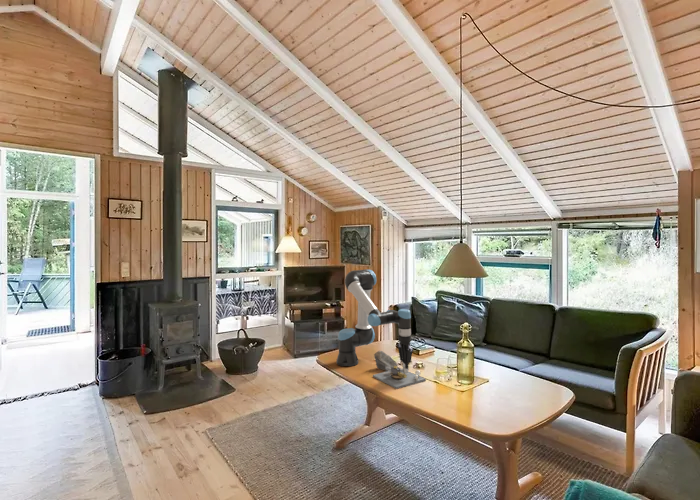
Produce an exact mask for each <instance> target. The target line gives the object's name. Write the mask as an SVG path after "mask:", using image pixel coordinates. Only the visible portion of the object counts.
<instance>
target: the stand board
mask: <svg viewBox="0 0 700 500" xmlns="http://www.w3.org/2000/svg"><path fill="white" fill-rule="evenodd" d="M399 368H400V369H403V367H402V368H401V367H399ZM386 372H390V371H383V372H379V373H375V374H372V378H374V379H376V380H378V381H380V382H383V383H384V384H386V385H388V386H389V387H392V388H394V389H395V390H398V389H402V388H404V387H409V386H413V385H417V384H420V383H423V382H426V381H427V379H426V378H424V377H422V376H420V375H421V371H420V370H419V369H417V370H415V373H413V372H411V371H408V373H407V374H406V375H407V378H402V379H393V378H392V377H391V375H389V376H386V377H383V376H382V373H386ZM401 373H403V372H401ZM403 374H404V373H403Z"/></svg>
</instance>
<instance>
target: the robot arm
mask: <svg viewBox="0 0 700 500" xmlns="http://www.w3.org/2000/svg"><path fill="white" fill-rule="evenodd" d="M376 284H377V276H376V273H375V272H374V271H373V269H357V270H355V269H354V270H351V271H348V273H346V275H345V278H344V285H345V288H346V290H347V291H348V292H349V293H351V294H352V295H353V297H354V298H355V300H356V301H357V323H356V325H355V328H352V327H349V328H343V329H341V330H340V331H339V332H338V336H337V340H338V354H337V358H336V365H337V364H338V365H337V366H339V365H340V366H339V367H343V366H350V367H355V366H357V365H358V364H359V358H358V355H357V353H356V348H357V347H362V346H369V345H371V344H372V343H373V342H374V340H375V338H376V337H375V336H376V334H375V330H374V328H373V327H378V326H383V325H384V326H385V325H389V324H390V325H391V324H397V325H398V326H397V327H398V328H397V329H398V342H399V343H398V344H397V348H398V349H397V350H398V355H399V360H400V361H401V363H402V369H403V373H404V374H407V373H408V368H409V364H410V363H411V362H412V356H413V351H414V348H413V347H411V341H412V336H411V335H412V326H411V324H412V322H411V320H412V315H411V309H410V310H409V309H407V308H401V309H398V311H397V310H394V309H387V310H386V311H383V312H382V311H380V310H379V309H378V307H377V306H376V305H375V303H374V302H373V300H372V299H371V293H372V290H373V288H374V286H376Z"/></svg>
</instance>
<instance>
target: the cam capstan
mask: <svg viewBox="0 0 700 500" xmlns="http://www.w3.org/2000/svg"><path fill="white" fill-rule="evenodd" d="M400 368H401V367H399V366H398V365H397V366H394V367H392V368H390V367H388V366H387V367H385V369H386V370H388V371H390V372H387V371H385V372H386V373H383V372H381V373H382V376H383V377H386V376H389V375H391V377H392V378H393V379H402V378H407V375H406V374H403V373H401V372H403V368H402V369H400ZM409 370H410V369H409V367H408V371H409ZM409 372H410V371H409Z"/></svg>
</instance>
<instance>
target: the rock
mask: <svg viewBox="0 0 700 500" xmlns="http://www.w3.org/2000/svg"><path fill="white" fill-rule="evenodd" d="M373 355H374V356H373V357H374V360H375V365H376V367H377V369H379V370H382V371H384V372H387V371H388V370H386V369H385V367H387V366H388V367H390V368H392V367H394V366H398V364H397V363H396V361H395V360H394V359H393V358H392V357H391V356H390V355H388V354H386V353H385V352H384V351H383V350H378V351H376V352H375V353H374V354H373Z"/></svg>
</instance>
